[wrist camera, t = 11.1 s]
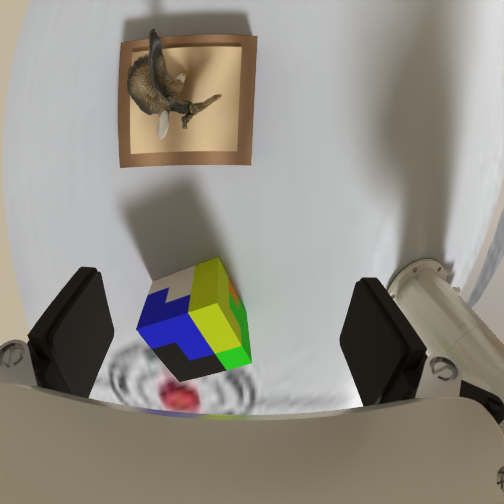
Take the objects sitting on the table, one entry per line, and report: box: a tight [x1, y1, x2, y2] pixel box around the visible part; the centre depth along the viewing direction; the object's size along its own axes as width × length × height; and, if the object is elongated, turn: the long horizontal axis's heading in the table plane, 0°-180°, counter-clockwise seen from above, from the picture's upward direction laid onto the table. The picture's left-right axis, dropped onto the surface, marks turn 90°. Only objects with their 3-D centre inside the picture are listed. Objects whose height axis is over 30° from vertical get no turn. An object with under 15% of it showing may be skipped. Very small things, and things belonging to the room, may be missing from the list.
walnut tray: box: [118, 35, 257, 168], centre depth 27 cm, size 14×14×4 cm
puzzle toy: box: [136, 257, 252, 382], centre depth 36 cm, size 10×10×10 cm
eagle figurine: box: [127, 29, 222, 139], centre depth 22 cm, size 8×7×9 cm
